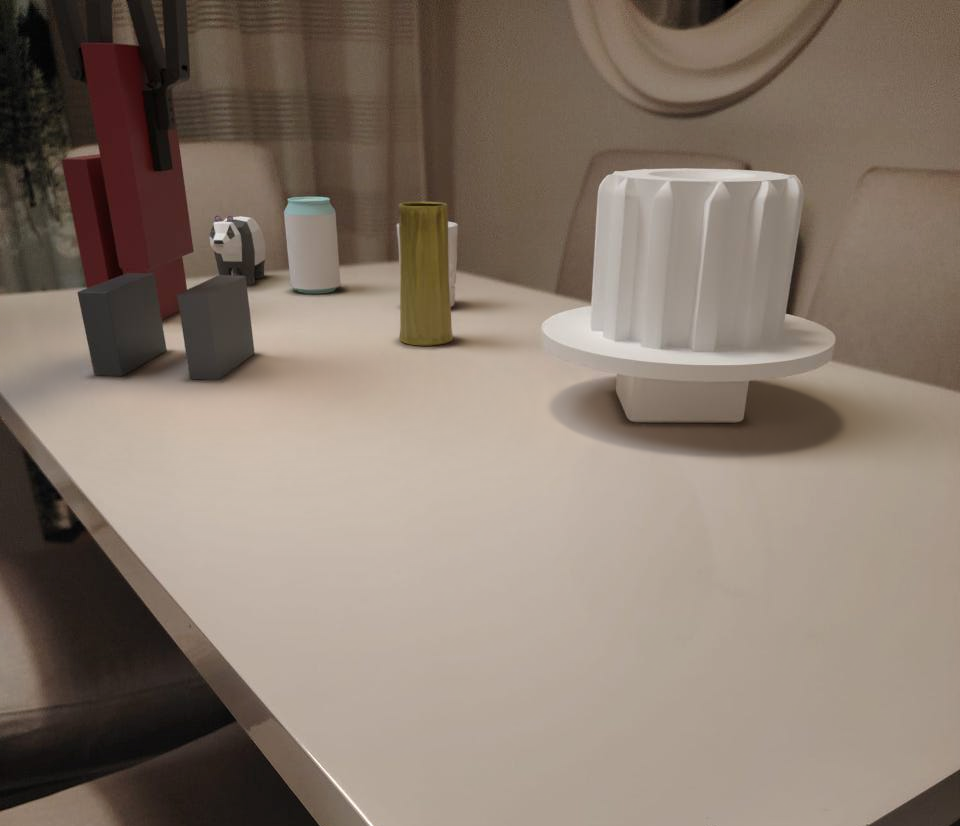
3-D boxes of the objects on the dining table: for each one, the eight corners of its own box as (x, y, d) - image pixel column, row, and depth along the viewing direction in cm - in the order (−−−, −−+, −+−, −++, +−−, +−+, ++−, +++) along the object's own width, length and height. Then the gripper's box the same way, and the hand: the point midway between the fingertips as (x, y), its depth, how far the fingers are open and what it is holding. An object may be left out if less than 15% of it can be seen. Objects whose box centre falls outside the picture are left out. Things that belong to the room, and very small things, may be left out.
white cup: (468, 302, 127) (468, 222, 122) (442, 313, 121) (440, 229, 115) (417, 298, 130) (414, 219, 125) (389, 308, 123) (385, 226, 118)
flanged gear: (546, 451, 74) (556, 188, 65) (533, 370, 96) (539, 163, 86) (861, 452, 74) (918, 188, 65) (777, 371, 96) (811, 164, 86)
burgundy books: (93, 322, 116) (60, 158, 107) (132, 304, 125) (105, 153, 116) (155, 323, 115) (127, 159, 106) (189, 306, 124) (167, 153, 115)
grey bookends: (94, 375, 94) (76, 291, 90) (141, 349, 103) (127, 272, 99) (218, 379, 93) (207, 295, 89) (254, 353, 102) (245, 275, 98)
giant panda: (235, 274, 146) (227, 207, 141) (270, 274, 146) (263, 207, 141) (205, 291, 134) (195, 218, 129) (243, 292, 133) (234, 218, 128)
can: (343, 293, 132) (336, 200, 126) (292, 295, 131) (284, 201, 125) (338, 284, 138) (331, 195, 132) (289, 286, 137) (281, 196, 131)
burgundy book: (119, 268, 88) (79, 42, 79) (166, 251, 98) (136, 47, 89) (149, 269, 88) (113, 42, 79) (194, 252, 98) (166, 48, 88)
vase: (463, 340, 108) (463, 204, 100) (423, 349, 104) (420, 208, 97) (428, 331, 111) (425, 199, 104) (388, 340, 108) (382, 203, 100)
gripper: (207, -141, 79) (240, 168, 91) (27, -139, 81) (83, 165, 93) (171, -161, 73) (212, 174, 85) (-23, -158, 75) (44, 170, 86)
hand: (144, 169), depth 89 cm, fingers closed on burgundy book, 3 cm apart
